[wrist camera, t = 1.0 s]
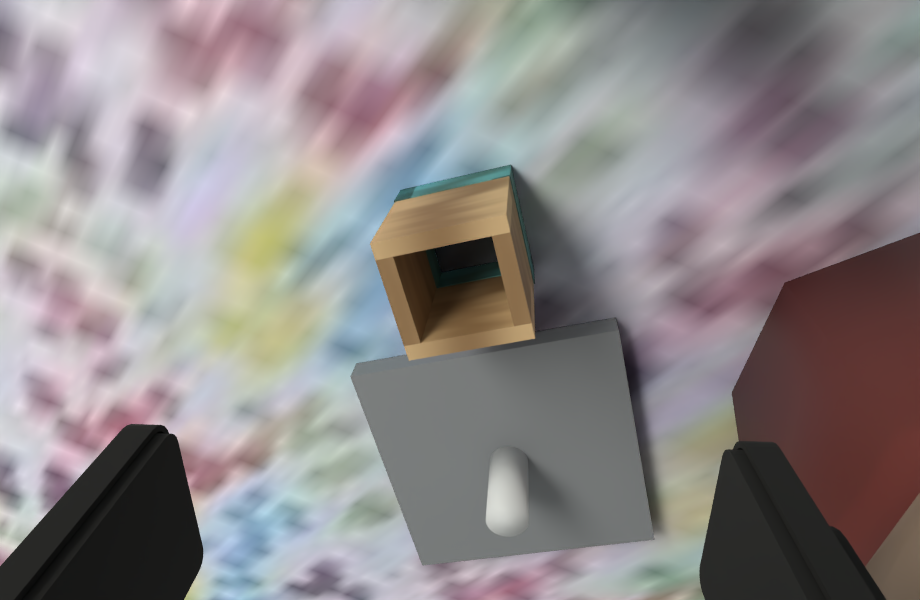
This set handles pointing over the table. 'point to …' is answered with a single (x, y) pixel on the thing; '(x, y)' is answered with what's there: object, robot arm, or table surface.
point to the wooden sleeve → (464, 290)
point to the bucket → (848, 402)
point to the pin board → (511, 445)
